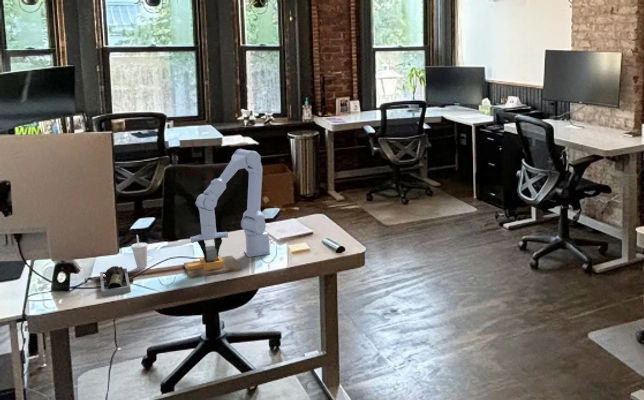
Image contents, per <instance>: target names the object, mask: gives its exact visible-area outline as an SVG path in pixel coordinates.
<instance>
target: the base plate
mask: <svg viewBox="0 0 644 400" xmlns="http://www.w3.org/2000/svg"><path fill="white" fill-rule="evenodd" d="M220 257H221V258H222V260H223V262H224V267H222V268H216V269H210V270H204V269H203V268H200V269H194V270H188V268H187V264H192V263H199V262H200V260H195V261H187V262H183V266H184V265H185V267H184V268H185V269H184V270H185V271H186V273H187V276H188V277H189V279H195V278H201V277H206V276H207V277H208V276H213V275H219V274H225V273H231V272H232V273H233V272H238V271H242V267H241V265H240V264H239V262H238V261H237V259H236V258H235V257H234V256H233V255H232V254H231V255H226V256H220Z"/></svg>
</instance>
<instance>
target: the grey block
mask: <svg viewBox="0 0 644 400" xmlns="http://www.w3.org/2000/svg"><path fill="white" fill-rule="evenodd" d="M206 257H207V259H205V262H206V263H209V262H215V261H217V250H216V248H215V245H209V246H206Z"/></svg>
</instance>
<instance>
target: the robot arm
mask: <svg viewBox="0 0 644 400" xmlns="http://www.w3.org/2000/svg"><path fill="white" fill-rule="evenodd" d="M261 159H262V156H261V155H260V154H259V153H258V152H257V151H255V150H250V149H249V150H247V149H243V148H238V149H236V150H235V151H234V153H233V154H232V156H231V160H230V161H229V163H228V164H227V166H225V168H224V170H223V172H222V173H221V174H220V176H219V177H218V178H214V179H213V180H211V181H210V184H209V185H208V186H207V188H206V189H205V190H204V191H203V193H201V194H199V195H198V196H197V198H196V201H195V202H194V203H195V206H196V207H197V208H198V211H199V219H200V221H199V222H200V228H201V229H200V231H201V234H198V235H195V236H190V237H189V239H190V243H191V244H194V243H198V245H199V247H200V249H201V251H202V254H203V257H204V258H205V259H207V257H206V247H207V246H206V243H205V241H211V240H213V243H214V246H215V248H216V250H217V257H218V255H219V252H220V248H221V245H222V244H223V239H224V238H226V239H227V238H229V234H228V231H222V232H221V231H220V232H219V231H218V232H217V226H216V214H215V208H216V207H217V204H218V200H219V199H220V197H221V196H222V194H223V193H224V191H225V190H226V189H227V183H228V182H229V181H230V179H232V178H233V176H234V175H235V174H236V173H237V172H238V170H242V169H245V170H246V171H247V172H248V184H247V185H248V186H247V187H248V188H247V203H246V204H247V205H246V208H247V209H246V210H245V211H244V212H243V214H242V219H241V220H240V221H241V222H240V226H241V228H242V230H243V232H244V233H245V246H246V249H245V250H243V252H244V253H245V255H246V256H247V257H248V258H251V257H257V256H263V255H270V254H271V250H270V237H269V234H268V231H266V227H267V223H266V221H265V220H266V219H265V214H264V213H263V212H262V211H261V205H262V188H263V187H262V185H263V171H264V170H263V165H262V162H261Z"/></svg>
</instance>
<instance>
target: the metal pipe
mask: <svg viewBox="0 0 644 400" xmlns="http://www.w3.org/2000/svg"><path fill="white" fill-rule="evenodd" d="M123 269H124V268H123V266H118V265H115V266H114V265H113V266H111V267H109V268H108V269H106V271H104V272H105V275H106V277H105V281H106V283H107V284H108V287H107V289H112V288H119V287H123V279H124V278H125V273H124V270H123Z"/></svg>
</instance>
